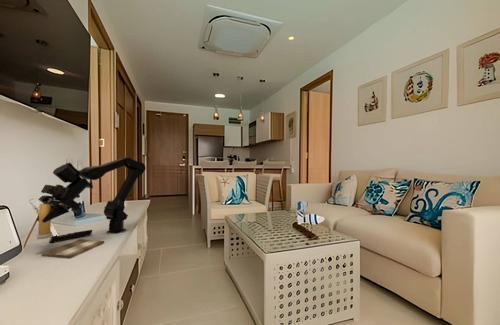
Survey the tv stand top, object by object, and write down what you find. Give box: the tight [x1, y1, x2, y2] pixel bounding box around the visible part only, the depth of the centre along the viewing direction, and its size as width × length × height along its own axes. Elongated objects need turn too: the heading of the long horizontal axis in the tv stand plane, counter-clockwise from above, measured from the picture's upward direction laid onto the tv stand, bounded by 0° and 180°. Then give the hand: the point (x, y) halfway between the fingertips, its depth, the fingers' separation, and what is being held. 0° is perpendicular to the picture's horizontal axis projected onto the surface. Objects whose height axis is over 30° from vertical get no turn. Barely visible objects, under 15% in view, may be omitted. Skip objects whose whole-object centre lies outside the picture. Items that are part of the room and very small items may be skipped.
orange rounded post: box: [36, 203, 52, 240], centre depth 84 cm, size 4×4×13 cm
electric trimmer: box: [48, 229, 93, 244], centre depth 100 cm, size 4×16×3 cm, turn 138°
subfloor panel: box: [40, 238, 105, 259], centre depth 88 cm, size 16×12×1 cm
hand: (40, 221), depth 83 cm, fingers closed on orange rounded post, 3 cm apart
